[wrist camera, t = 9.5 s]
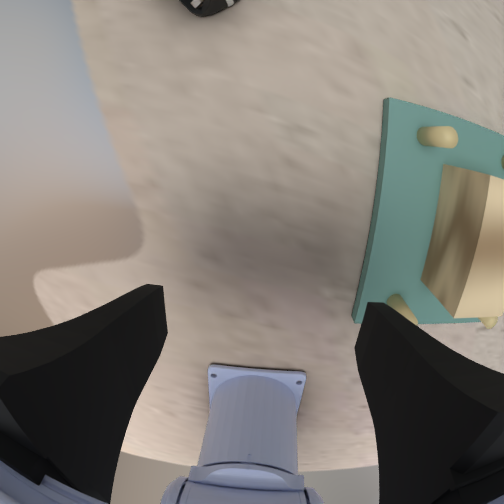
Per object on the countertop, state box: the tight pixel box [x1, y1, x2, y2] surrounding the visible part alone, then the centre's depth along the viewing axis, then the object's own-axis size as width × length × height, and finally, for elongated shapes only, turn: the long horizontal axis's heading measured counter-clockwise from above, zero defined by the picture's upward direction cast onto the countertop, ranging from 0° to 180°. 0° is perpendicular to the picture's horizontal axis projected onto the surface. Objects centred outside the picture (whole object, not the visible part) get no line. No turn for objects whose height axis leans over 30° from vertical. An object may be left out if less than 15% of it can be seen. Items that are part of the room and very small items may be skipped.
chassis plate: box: [352, 98, 504, 329], centre depth 16 cm, size 15×13×4 cm
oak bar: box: [420, 164, 504, 318], centre depth 14 cm, size 8×4×5 cm, turn 177°
